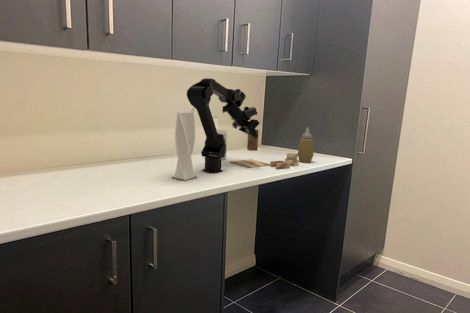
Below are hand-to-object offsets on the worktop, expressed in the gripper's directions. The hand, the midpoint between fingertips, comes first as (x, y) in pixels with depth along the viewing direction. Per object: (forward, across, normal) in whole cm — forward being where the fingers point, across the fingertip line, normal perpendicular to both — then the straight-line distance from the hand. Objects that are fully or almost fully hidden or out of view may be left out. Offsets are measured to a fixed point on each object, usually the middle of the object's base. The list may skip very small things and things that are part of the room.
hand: (255, 136), depth 161 cm
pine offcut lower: (+22, -6, -3) cm, 23 cm away
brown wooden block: (+4, 0, +6) cm, 7 cm away
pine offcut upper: (+20, -6, -5) cm, 22 cm away
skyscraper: (-19, -20, +38) cm, 47 cm away
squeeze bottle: (+31, -1, -12) cm, 33 cm away
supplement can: (+1, +16, +18) cm, 25 cm away
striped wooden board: (+8, +1, +11) cm, 14 cm away
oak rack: (+16, -10, +3) cm, 19 cm away
